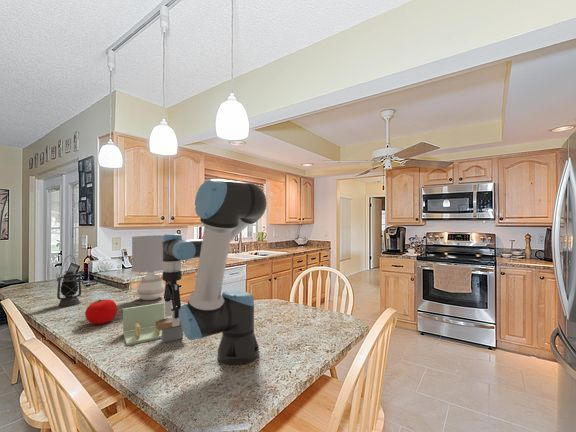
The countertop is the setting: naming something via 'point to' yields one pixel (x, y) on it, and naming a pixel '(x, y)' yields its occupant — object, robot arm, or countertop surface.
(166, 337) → the block
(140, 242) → the lamp
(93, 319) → the tomato
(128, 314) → the cabinet
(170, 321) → the shelf board
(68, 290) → the lantern
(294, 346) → the countertop surface
